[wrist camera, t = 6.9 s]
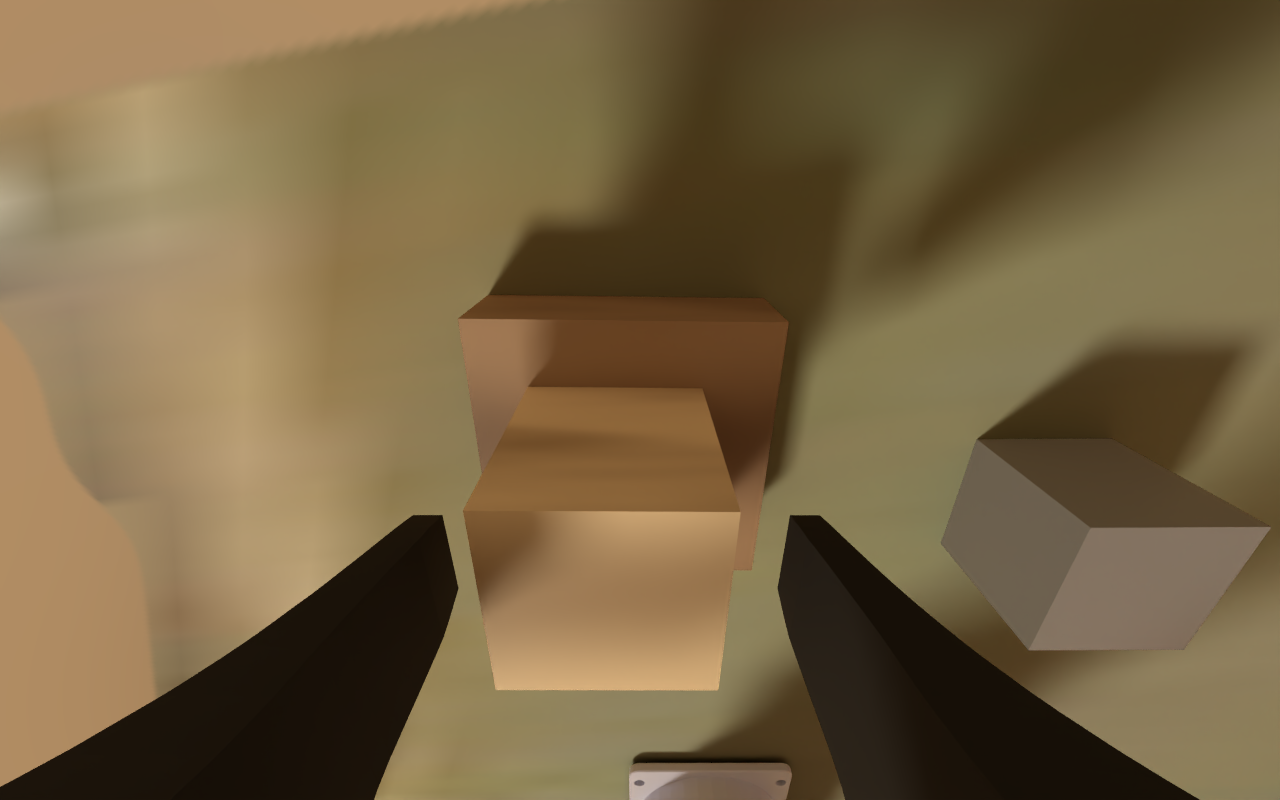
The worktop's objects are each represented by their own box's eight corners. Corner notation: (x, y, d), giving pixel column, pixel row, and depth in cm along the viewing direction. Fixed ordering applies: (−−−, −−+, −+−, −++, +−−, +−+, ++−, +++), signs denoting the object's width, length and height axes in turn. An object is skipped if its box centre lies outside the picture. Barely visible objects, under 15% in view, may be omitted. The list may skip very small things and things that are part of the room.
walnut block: (734, 509, 18) (751, 570, 15) (518, 507, 18) (496, 568, 15) (760, 294, 14) (788, 322, 11) (492, 291, 14) (457, 318, 11)
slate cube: (1059, 541, 18) (1184, 649, 14) (939, 541, 18) (1028, 650, 14) (1109, 437, 16) (1271, 526, 12) (975, 437, 16) (1090, 527, 12)
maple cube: (692, 525, 14) (718, 690, 10) (541, 525, 14) (495, 690, 10) (702, 387, 12) (740, 511, 8) (527, 386, 12) (463, 509, 8)
